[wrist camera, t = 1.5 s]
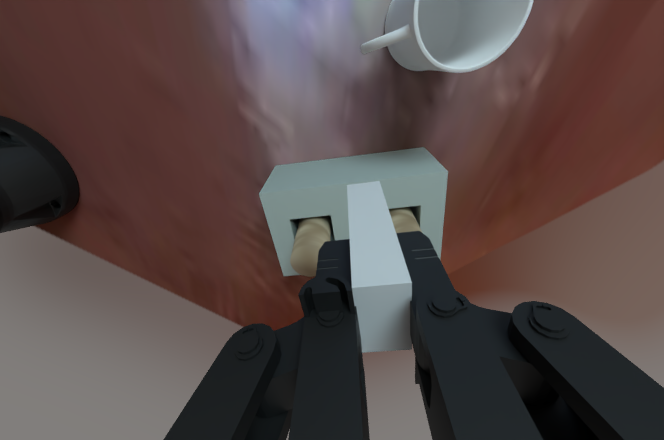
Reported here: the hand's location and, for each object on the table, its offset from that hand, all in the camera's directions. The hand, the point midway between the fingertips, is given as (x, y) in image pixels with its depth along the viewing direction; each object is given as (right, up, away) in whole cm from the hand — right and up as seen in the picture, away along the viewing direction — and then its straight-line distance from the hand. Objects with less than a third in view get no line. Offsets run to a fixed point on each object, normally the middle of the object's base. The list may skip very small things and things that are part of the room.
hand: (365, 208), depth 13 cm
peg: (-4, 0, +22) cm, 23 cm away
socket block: (+1, +3, +26) cm, 26 cm away
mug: (+7, +20, +16) cm, 27 cm away
